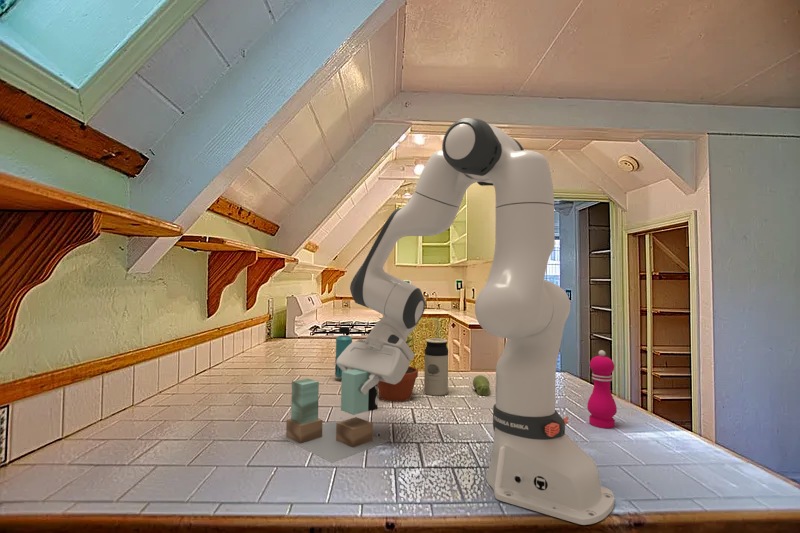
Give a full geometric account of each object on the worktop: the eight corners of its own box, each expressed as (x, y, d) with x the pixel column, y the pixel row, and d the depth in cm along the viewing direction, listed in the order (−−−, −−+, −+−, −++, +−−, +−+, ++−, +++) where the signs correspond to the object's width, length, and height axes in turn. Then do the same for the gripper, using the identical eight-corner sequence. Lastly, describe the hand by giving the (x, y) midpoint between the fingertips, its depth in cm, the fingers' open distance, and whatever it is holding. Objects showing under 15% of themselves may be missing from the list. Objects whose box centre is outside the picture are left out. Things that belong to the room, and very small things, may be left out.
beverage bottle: (332, 381, 159) (333, 327, 160) (337, 377, 166) (338, 325, 166) (349, 382, 158) (350, 328, 159) (354, 378, 165) (354, 326, 165)
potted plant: (412, 405, 130) (413, 307, 131) (366, 400, 135) (367, 305, 136) (425, 393, 144) (426, 304, 145) (383, 389, 149) (384, 303, 150)
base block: (372, 440, 99) (372, 423, 100) (352, 447, 95) (353, 429, 95) (355, 433, 104) (356, 417, 104) (336, 440, 99) (336, 422, 99)
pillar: (368, 410, 100) (369, 371, 100) (353, 415, 96) (354, 374, 97) (355, 406, 103) (356, 368, 103) (340, 410, 100) (341, 371, 100)
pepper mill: (620, 424, 116) (620, 350, 117) (611, 431, 111) (611, 353, 111) (592, 418, 121) (592, 347, 121) (583, 424, 116) (583, 350, 116)
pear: (487, 373, 152) (493, 384, 142) (486, 387, 152) (492, 400, 142) (471, 372, 152) (476, 384, 142) (470, 387, 152) (476, 399, 142)
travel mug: (432, 388, 151) (432, 337, 151) (452, 392, 146) (452, 339, 147) (419, 393, 144) (420, 340, 145) (440, 397, 140) (440, 342, 140)
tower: (322, 436, 101) (323, 381, 102) (300, 443, 97) (301, 385, 97) (307, 430, 105) (308, 377, 106) (286, 436, 101) (287, 381, 101)
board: (387, 446, 99) (387, 441, 99) (332, 467, 87) (332, 462, 87) (334, 424, 113) (334, 420, 113) (280, 440, 101) (280, 436, 101)
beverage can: (374, 415, 121) (374, 372, 121) (351, 413, 122) (352, 371, 123) (379, 408, 127) (380, 367, 128) (358, 406, 129) (359, 366, 129)
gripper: (350, 330, 112) (318, 374, 105) (407, 340, 98) (375, 390, 91) (362, 346, 115) (332, 389, 108) (420, 357, 101) (390, 407, 94)
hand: (352, 390), depth 99 cm, fingers closed on pillar, 4 cm apart
